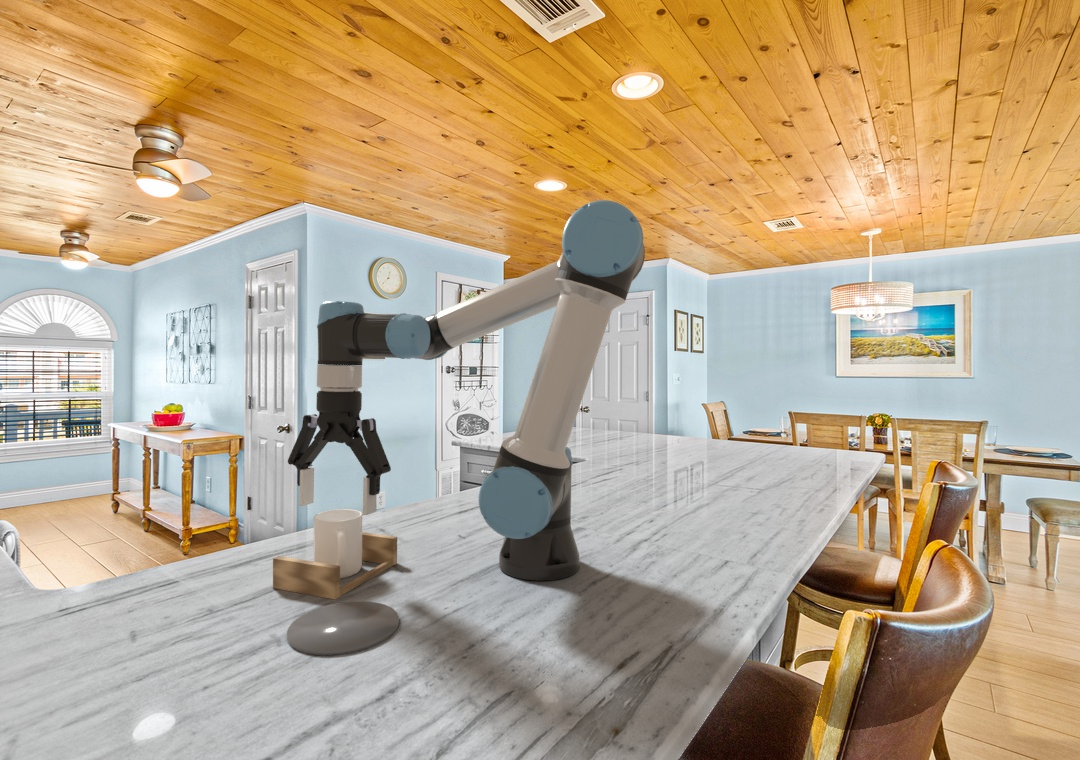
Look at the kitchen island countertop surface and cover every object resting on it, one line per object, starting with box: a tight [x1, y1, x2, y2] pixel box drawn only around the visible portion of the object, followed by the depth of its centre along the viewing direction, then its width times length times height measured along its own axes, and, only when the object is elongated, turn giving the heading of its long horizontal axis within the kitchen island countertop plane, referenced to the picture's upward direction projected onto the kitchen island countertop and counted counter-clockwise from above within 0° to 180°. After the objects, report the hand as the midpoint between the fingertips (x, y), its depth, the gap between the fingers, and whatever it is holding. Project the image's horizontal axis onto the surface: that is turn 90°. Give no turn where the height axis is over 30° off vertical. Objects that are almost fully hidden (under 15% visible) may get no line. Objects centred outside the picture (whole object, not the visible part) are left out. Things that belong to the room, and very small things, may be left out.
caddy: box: [272, 531, 398, 600], centre depth 98 cm, size 13×17×5 cm
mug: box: [313, 508, 363, 579], centre depth 98 cm, size 12×8×10 cm
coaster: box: [286, 600, 400, 656], centre depth 79 cm, size 15×15×1 cm
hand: (337, 508), depth 98 cm, fingers open, 13 cm apart
